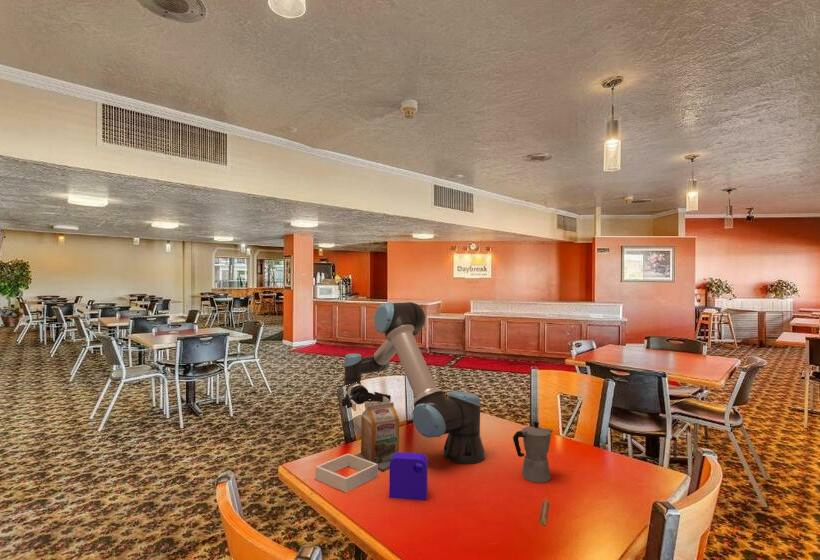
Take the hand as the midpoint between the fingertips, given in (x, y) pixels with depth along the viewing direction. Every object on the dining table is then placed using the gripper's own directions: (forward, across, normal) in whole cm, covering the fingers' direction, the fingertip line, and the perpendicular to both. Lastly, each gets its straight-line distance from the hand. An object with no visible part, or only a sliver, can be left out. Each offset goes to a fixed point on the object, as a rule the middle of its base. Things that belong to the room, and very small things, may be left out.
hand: (372, 405), depth 162 cm
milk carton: (+10, 0, -16) cm, 19 cm away
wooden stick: (+62, -30, -18) cm, 71 cm away
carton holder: (+21, +15, -17) cm, 31 cm away
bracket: (+33, -3, -17) cm, 37 cm away
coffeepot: (+42, -42, -18) cm, 62 cm away
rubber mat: (+10, 0, -17) cm, 20 cm away
